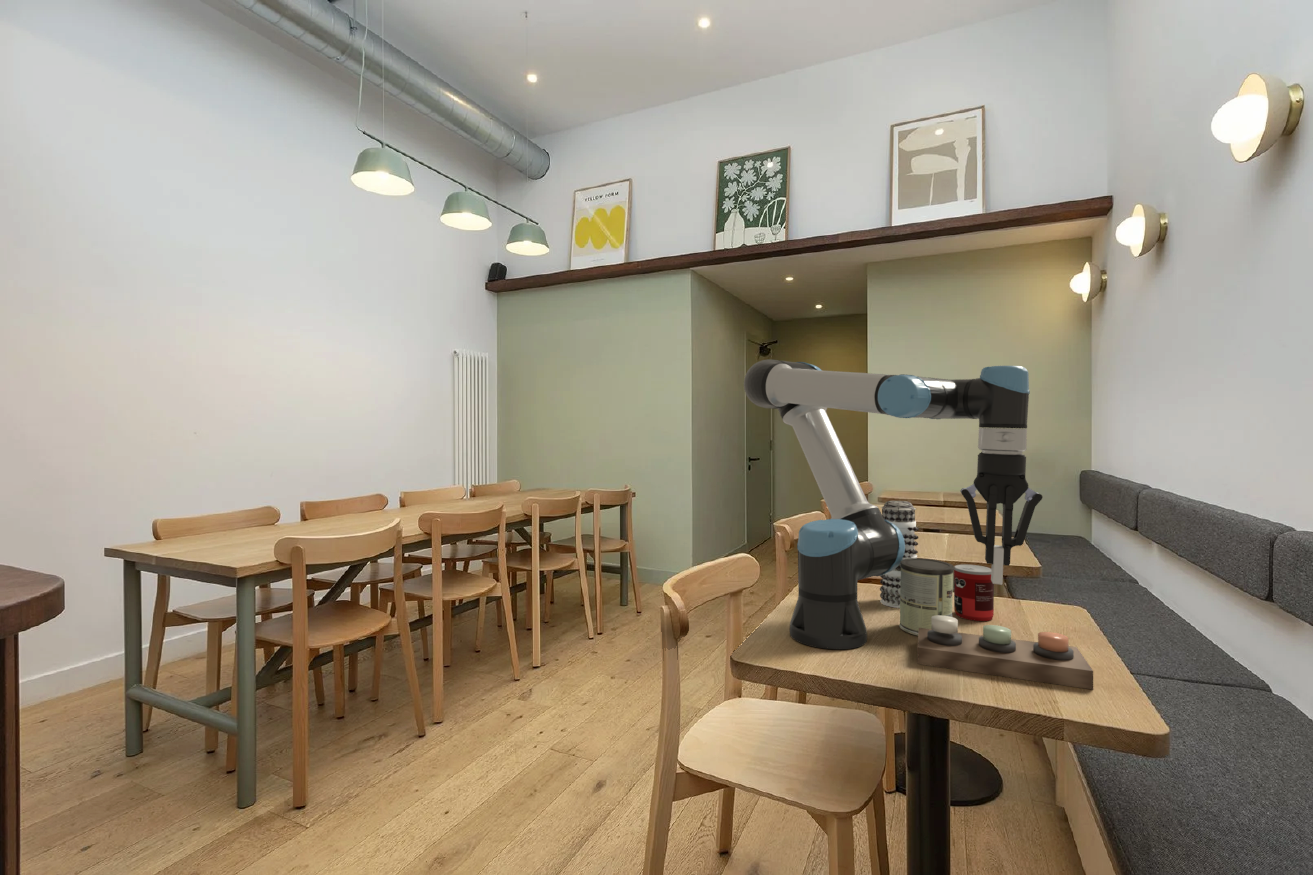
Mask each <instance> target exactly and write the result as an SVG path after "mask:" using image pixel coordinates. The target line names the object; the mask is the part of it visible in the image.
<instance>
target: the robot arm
mask: <svg viewBox="0 0 1313 875" xmlns="http://www.w3.org/2000/svg"><path fill="white" fill-rule="evenodd" d="M1029 377H1030V376H1029V370H1027V368H1026V367H1025V366H1021V365H991V366H985V367H983V368H982V369H981V371H980V375H979V377H977V378H969V379H968V378H967V379H966V378H964V379H961V378H960V379H956V378H955V379H948V378H947V379H946V378H938V377H937V378H935V377H926V376H924V377H923V376H918V375H917V376H916V375H913V374H888V373H887V374H886V373H885V374H884V373H871V372H870V373H869V372H867V373H866V372H855V371H854V372H852V371H851V372H850V371H839V370H837V371H835V370H822V369H821V368H820V367H818V366H816V365H815V364H811V363H807V362H805V361H797V362H795V361H787V360H777V359H769V358H768V359H762V360H760V361H757V362H755V363H754V364H752V366H750V368H749V369H747V372H746V373H745V376H744V379H743V380H744V381H743V387H744V388H743V389H744V392H745V395H746V397H747V398H748V400H749V401H750V402H751V403H752V404H754V405H755V406H757V407H760V408H764V409H773V410H778V413H779V415H780V417H781V420H782V421H783V423H784V424H786V425H788V426H791V427H792V429H793V431H794V434H795V436H796V438H797V440H798V443H799V446H800V447H801V450H802V452H803V453H804V454H803V455H804V457H805V459H806V461H807V463H808V464H807V465H808V466H809V469H810V470H811V472H812V475H813V477H814V479H815V481H816V484H817V486H818V490H819V491H820V493H821V496H822V497H823V501H824V503H825V505H826V507H827V510H828V511H829V514H830V516H831V518H829V519H827V518H826V519H819V520H813V521H810V522H807V523H805V524H803V525H802V526H801V527H800V529H799V530H798V538H797V539H798V540H797V545H796V546H797V547H796V549H797V573H798V574H797V576H798V578H797V580H798V582H797V586H798V589H797V590H798V596H797V601H796V603H795V607H794V610H793V613H792V616H791V619H790V622H789V635H790V637H791V638H792V639H793V640H795V641H796V642H798V643H801V644H803V645H805V646H809V647H814V648H820V649H826V650H850V649H855V648H859V647H861V646H862V647H863V646H864V645H865V644H866V643H867V641H868V640H867V639H868V634H867V633H868V631H867V627H866V626H867V625H866V624H865V621H864V618H863V615H862V612H861V608H860V605H859V601H858V581H859V580H864V579H868V578H872V577H880V576H881V575H883V574H886V573H887V572H890V571H892V570H894V569H895V568H896V567H898V565H899V564H900V562H901V561H902V559H903V556H904V553H905V542H904V538H903V535H902V533H901V531H900V530H899V528H898V527H897V526H896V525H895V524H893V523H891V522H889V521H887V520H884V518H883V516H882V511H881V510H880V508H879V507H878V506H877V505H874V504H872V503H871V502H869V501H868V499H867V497H866V494H865V493H864V491H863V488H862V486H861V484H860V482H859V480H858V477H857V476H856V474H855V472H854V468H853V467H852V465H851V463H850V460H849V459H848V456H847V454H846V451H845V450H844V448H843V445H842V443H841V441H840V438H839V437H838V435H837V433H836V430H835V429H834V427H833V424H832V422H831V420H830V418H829V416H828V413H827V410H828V409H837V410H845V411H846V410H847V411H851V412H852V411H855V412H863V413H869V414H870V413H871V414H877V415H878V414H880V415H887V416H891V417H895V418H898V419H911V418H914V419H916V418H918V419H919V418H920V419H922V418H923V419H930V420H941V419H942V420H944V419H945V420H946V419H947V420H949V419H950V420H953V419H954V420H955V419H956V420H959V419H960V420H962V419H965V420H966V419H968V420H969V419H971V420H977V419H978V441H977V444H978V445H977V447H978V450H980V451H981V452H979V454H977V467H976V477H975V478H974V480H973V484H971V485H969V486H967V487H962V488H961V489H960V490H959V491H960V493H961V495H962V496H963V498H964V499H965V501H966V505H967V510H968V515H969V519H970V522H971V527H972V531H973V536H974V538H975V540H976V542H977V543H981V544H983V545H984V546H985V554H984V556H985V557H984V560H985V562H986V564H988V565H991V581H992V583H993V584H994V585H1001V586H1002V585H1003V579H1004V578H1003V575H1004V566H1010V564H1011V552H1012V549H1013V548H1014V547H1017V546H1019V547H1021V546H1023V544H1024V542H1025V540H1026V535H1027V533H1028V531H1029V527H1030V524H1031V522H1032V521H1031V520H1032V518H1033V514H1034V512H1035V509H1036V507H1037V505H1038V504H1039V503H1040V502H1041V501H1042V500H1043V495H1042V494H1041V493H1039V492H1036V491H1035V490H1033V489H1032V488H1030V487H1029V483H1028V481H1027V479H1026V470H1027V469H1026V468H1027V467H1026V466H1027V456H1026V455H1025V454H1023V452H1026V451H1027V441H1028V439H1027V437H1028V436H1027V435H1028V417H1029V416H1028V413H1029V399H1030V398H1029V397H1030V380H1029ZM976 491H978V493H979V494H980V496H981V497H982V498H983V500H984V502H986V516H985V518H986V519H985V535H984V534H983V531H982V527H981V522H980V519H979V514H978V509H977V506H976V501H975V499H974V498H976V495H977V493H976ZM1024 494H1025V495H1024ZM1023 495H1024V500H1025V502H1024V505H1023V508H1022V512H1021V515H1020V518H1019V520H1018V524H1017V526H1016V528H1015V532H1014V535H1013V511H1014V504H1015V503H1016V502H1017V501H1018V500H1020V499H1021V497H1022V496H1023ZM998 504H1002V523H1001V525H1002V526H1001V545H998V544H996V542H995V541H996V523H997V522H996V521H997V520H996V519H997V505H998Z"/></svg>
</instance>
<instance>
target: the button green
mask: <svg viewBox="0 0 1313 875" xmlns="http://www.w3.org/2000/svg"><path fill="white" fill-rule="evenodd" d="M982 635H983V639H984V640H986V641H988V642H991V643H996V644H1010V643H1011V639H1012V629H1010V628H1008V627H1005V626H1002V625H995V624H986V625H983V627H982Z"/></svg>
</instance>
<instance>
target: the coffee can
mask: <svg viewBox="0 0 1313 875" xmlns="http://www.w3.org/2000/svg"><path fill="white" fill-rule="evenodd" d="M900 564H901V589H900V608H899V624H898V625H899V628H900V629H901V630H902V631H904V632H905V633H907V634H911V635H914V636H917V637H918V632H919V628H926V629H932V624H931V617H932V616H936V615H942V616H949V617H953V599H954V566H955V565H953V564H951V563H949V562H946V561H943V560H937V559H932V558H921V557H920V558H919V557H917V558H909V559H903V560H902V561H901V562H900Z"/></svg>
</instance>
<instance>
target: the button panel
mask: <svg viewBox="0 0 1313 875" xmlns="http://www.w3.org/2000/svg"><path fill="white" fill-rule="evenodd" d="M916 648H917V665H921V666H929V667H930V666H931V667H937V668H942V669H951V670H958V671H962V672H963V671H964V672H970V673H978V674H982V675H983V674H985V675H990V676H991V675H992V676H997V677H1002V678H1003V677H1004V678H1011V679H1012V678H1013V679H1018V680H1023V681H1025V680H1026V681H1033V682H1039V683H1046V684H1052V685H1060V686H1066V687H1072V688H1079V689H1080V688H1081V689H1086V690H1087V689H1088V690H1094V670H1093V669H1092V667H1091V666H1090V664H1089V662H1088V661H1087V659H1086V658H1085V657H1084V656H1083V654H1082V652H1081V651H1080V650H1079V648H1078V647H1077V646H1071V645H1069V650H1068V651H1067V652H1054V651H1049V650H1045V649H1043V648H1041V647H1039V646H1038V641H1031V640H1022V639H1016V638H1015V639H1014V638H1011V643H1010V644H996V643H991V642H988V641H986V640H984V639H983V634H982V635H981V634H974V633H966V632H959V631H958V632H957V633H953V634H947V633H940V632H937V631H934V630H932V629H926V628H919V632H918V636H917V647H916Z"/></svg>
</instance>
